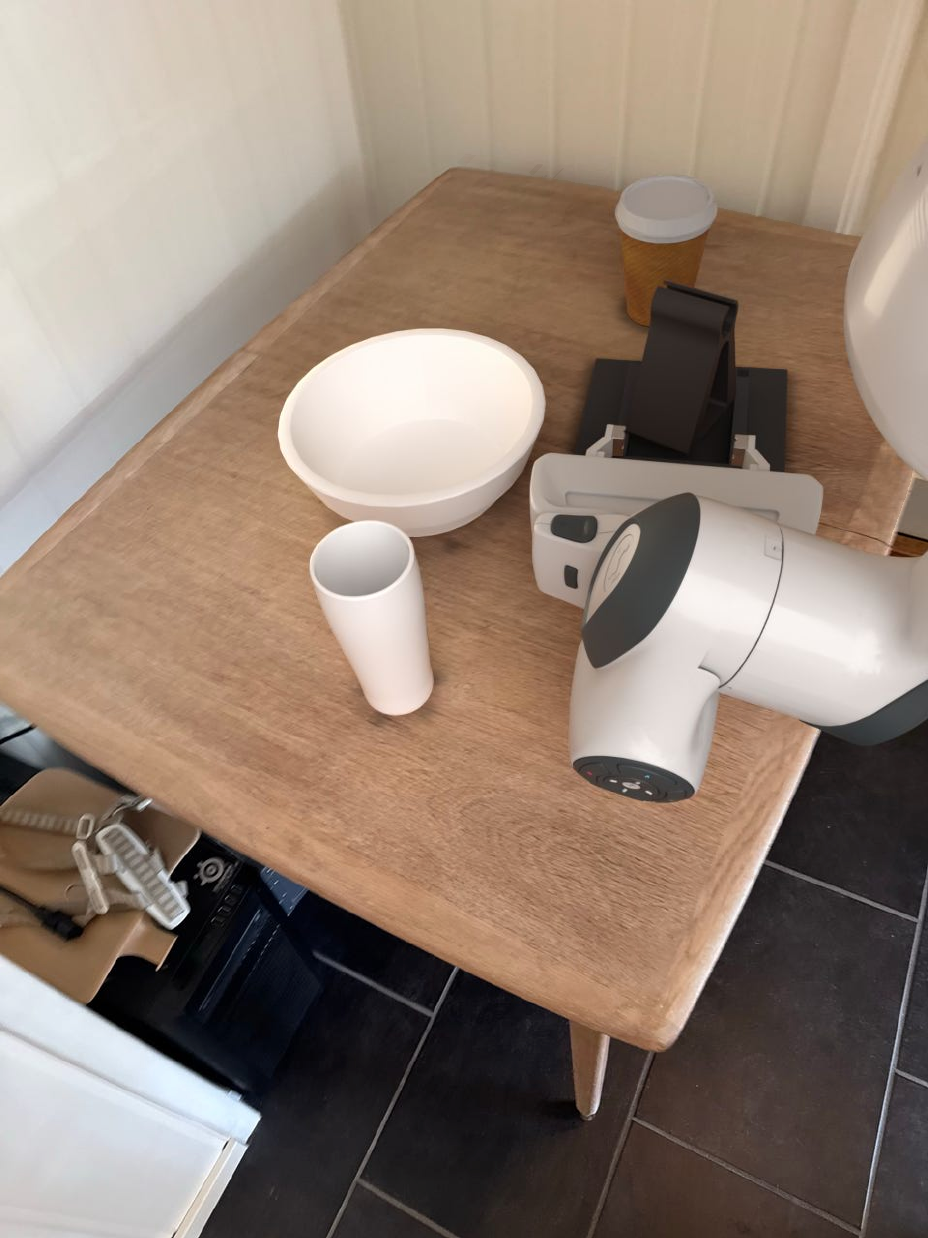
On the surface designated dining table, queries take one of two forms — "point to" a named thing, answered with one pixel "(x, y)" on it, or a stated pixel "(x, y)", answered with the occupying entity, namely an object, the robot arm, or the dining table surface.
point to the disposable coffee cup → (662, 235)
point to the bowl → (414, 428)
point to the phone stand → (685, 367)
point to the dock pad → (748, 414)
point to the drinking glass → (376, 611)
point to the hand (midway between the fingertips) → (679, 436)
